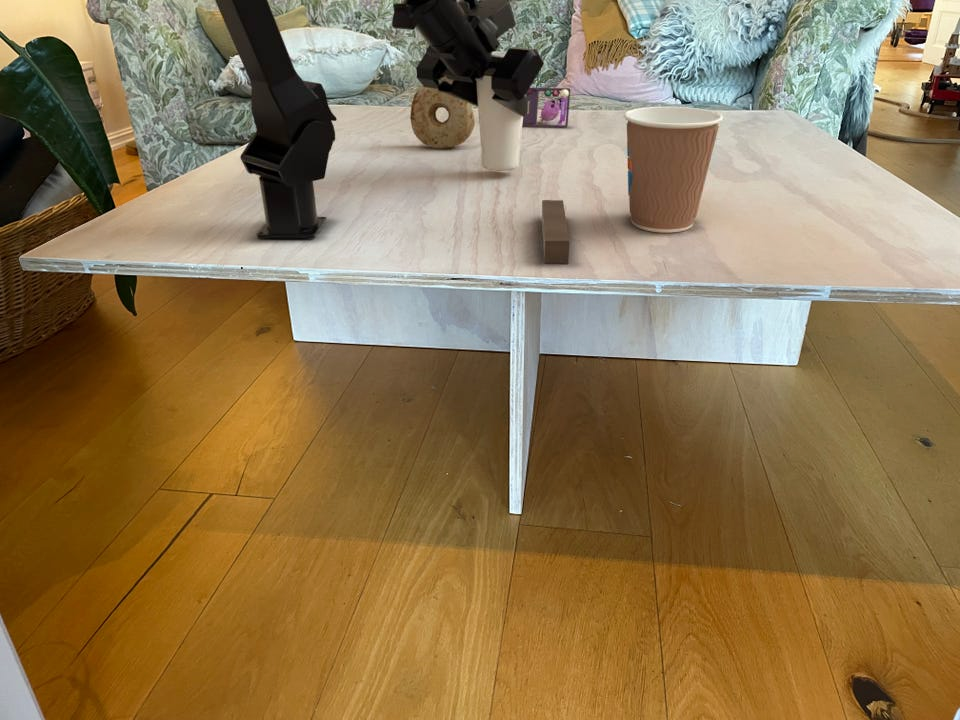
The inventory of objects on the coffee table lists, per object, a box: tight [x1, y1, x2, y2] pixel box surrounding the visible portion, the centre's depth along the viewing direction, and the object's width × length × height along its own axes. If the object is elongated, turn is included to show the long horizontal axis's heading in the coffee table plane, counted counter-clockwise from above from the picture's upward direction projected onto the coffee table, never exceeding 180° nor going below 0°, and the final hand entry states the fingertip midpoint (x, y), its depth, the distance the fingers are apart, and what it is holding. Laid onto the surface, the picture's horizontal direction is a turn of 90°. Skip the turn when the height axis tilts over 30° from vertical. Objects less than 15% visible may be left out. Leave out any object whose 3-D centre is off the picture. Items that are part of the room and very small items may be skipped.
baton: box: [541, 199, 570, 265], centre depth 79 cm, size 14×2×2 cm, turn 177°
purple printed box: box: [522, 87, 571, 129], centre depth 135 cm, size 7×5×9 cm
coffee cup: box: [623, 106, 724, 234], centre depth 82 cm, size 10×10×12 cm
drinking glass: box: [476, 51, 526, 172], centre depth 101 cm, size 7×7×15 cm
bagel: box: [409, 83, 476, 149], centre depth 118 cm, size 10×4×10 cm, turn 77°
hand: (507, 110), depth 101 cm, fingers closed on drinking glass, 6 cm apart
